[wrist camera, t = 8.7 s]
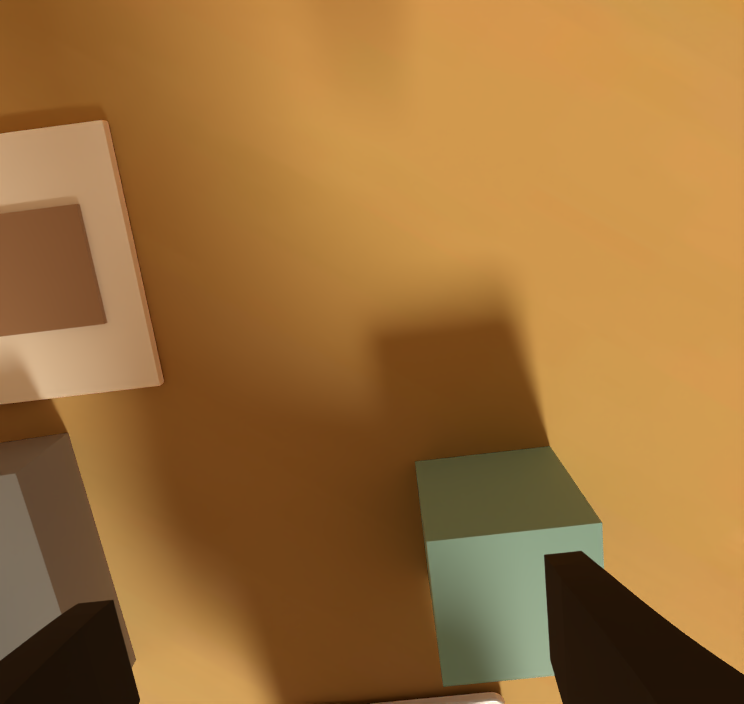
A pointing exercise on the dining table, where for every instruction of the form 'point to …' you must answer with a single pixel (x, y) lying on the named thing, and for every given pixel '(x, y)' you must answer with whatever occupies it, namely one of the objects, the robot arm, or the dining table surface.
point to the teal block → (498, 557)
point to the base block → (47, 540)
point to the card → (69, 269)
